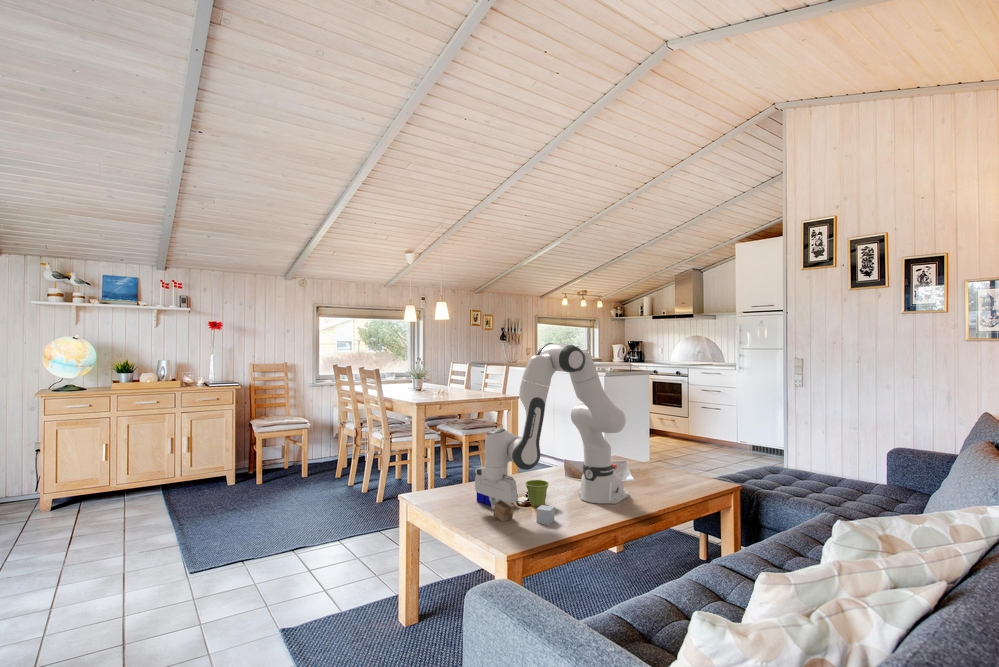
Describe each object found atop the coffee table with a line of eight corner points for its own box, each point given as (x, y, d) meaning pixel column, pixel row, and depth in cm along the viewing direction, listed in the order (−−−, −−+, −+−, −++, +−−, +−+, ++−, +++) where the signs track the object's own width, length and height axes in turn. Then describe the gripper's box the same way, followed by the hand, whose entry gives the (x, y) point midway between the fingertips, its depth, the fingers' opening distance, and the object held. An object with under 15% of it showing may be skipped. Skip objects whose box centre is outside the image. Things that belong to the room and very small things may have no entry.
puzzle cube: (476, 501, 212) (476, 477, 212) (493, 496, 219) (493, 472, 219) (493, 507, 205) (493, 481, 205) (510, 501, 212) (510, 477, 212)
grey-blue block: (541, 518, 192) (541, 504, 192) (554, 520, 190) (554, 506, 190) (536, 522, 188) (536, 508, 188) (549, 524, 186) (549, 510, 186)
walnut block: (502, 512, 196) (504, 500, 195) (512, 518, 192) (514, 505, 192) (493, 515, 192) (495, 503, 192) (502, 521, 189) (504, 508, 188)
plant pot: (542, 509, 202) (542, 487, 202) (521, 505, 207) (521, 484, 207) (552, 503, 210) (552, 481, 210) (532, 499, 215) (532, 478, 215)
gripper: (521, 476, 190) (521, 514, 190) (484, 466, 205) (484, 501, 205) (509, 479, 185) (508, 518, 185) (472, 468, 200) (471, 504, 200)
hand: (495, 509), depth 195 cm, fingers closed
